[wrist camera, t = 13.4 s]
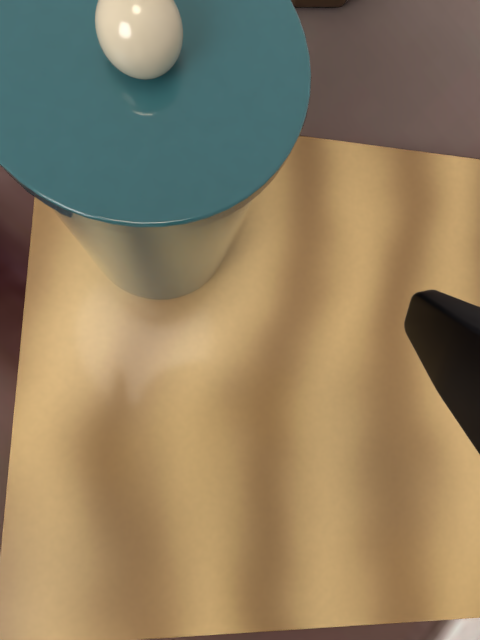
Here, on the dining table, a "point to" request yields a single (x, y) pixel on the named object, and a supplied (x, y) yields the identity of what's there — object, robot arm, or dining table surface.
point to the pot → (151, 124)
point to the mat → (250, 420)
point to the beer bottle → (318, 3)
